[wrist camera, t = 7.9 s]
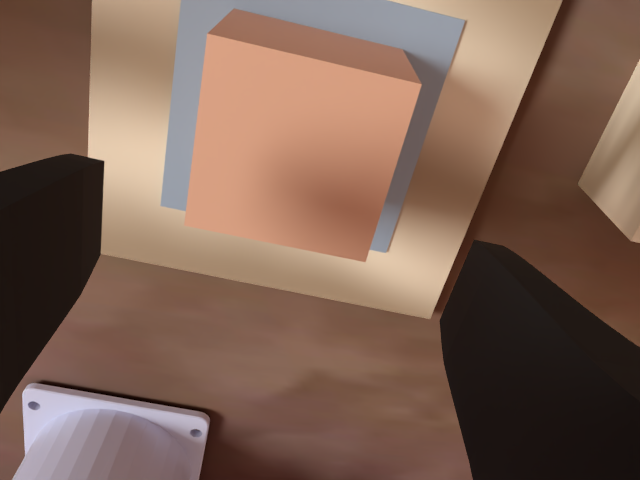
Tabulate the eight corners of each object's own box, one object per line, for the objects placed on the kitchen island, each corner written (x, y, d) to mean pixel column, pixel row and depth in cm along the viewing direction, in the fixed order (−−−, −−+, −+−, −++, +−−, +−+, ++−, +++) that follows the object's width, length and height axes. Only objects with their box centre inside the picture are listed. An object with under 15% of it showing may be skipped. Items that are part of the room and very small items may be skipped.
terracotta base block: (359, 199, 19) (365, 262, 15) (211, 167, 18) (184, 225, 15) (402, 49, 16) (421, 84, 13) (233, 8, 16) (206, 33, 12)
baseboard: (427, 309, 22) (430, 320, 21) (91, 242, 21) (84, 252, 20) (576, -55, 16) (586, -54, 15) (105, -185, 14) (95, -189, 14)
